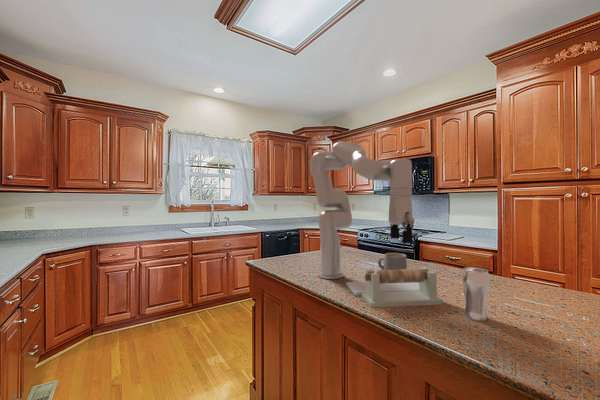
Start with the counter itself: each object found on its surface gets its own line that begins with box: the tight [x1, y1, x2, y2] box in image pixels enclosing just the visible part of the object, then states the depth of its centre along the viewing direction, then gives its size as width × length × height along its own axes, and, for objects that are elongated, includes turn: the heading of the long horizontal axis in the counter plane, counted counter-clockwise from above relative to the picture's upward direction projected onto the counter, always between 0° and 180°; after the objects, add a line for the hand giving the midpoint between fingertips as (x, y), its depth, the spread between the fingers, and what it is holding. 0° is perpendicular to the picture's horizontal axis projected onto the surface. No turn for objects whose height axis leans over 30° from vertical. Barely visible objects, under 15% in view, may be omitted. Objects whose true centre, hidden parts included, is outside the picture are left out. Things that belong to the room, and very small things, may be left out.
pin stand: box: [361, 267, 443, 308], centre depth 101 cm, size 10×26×11 cm, turn 95°
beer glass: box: [462, 266, 490, 322], centre depth 87 cm, size 7×7×15 cm
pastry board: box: [345, 281, 419, 297], centre depth 114 cm, size 13×30×1 cm, turn 95°
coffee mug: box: [377, 252, 408, 270], centre depth 134 cm, size 13×10×10 cm
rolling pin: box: [364, 268, 427, 284], centre depth 101 cm, size 26×5×5 cm, turn 95°
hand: (400, 240), depth 101 cm, fingers open, 9 cm apart
